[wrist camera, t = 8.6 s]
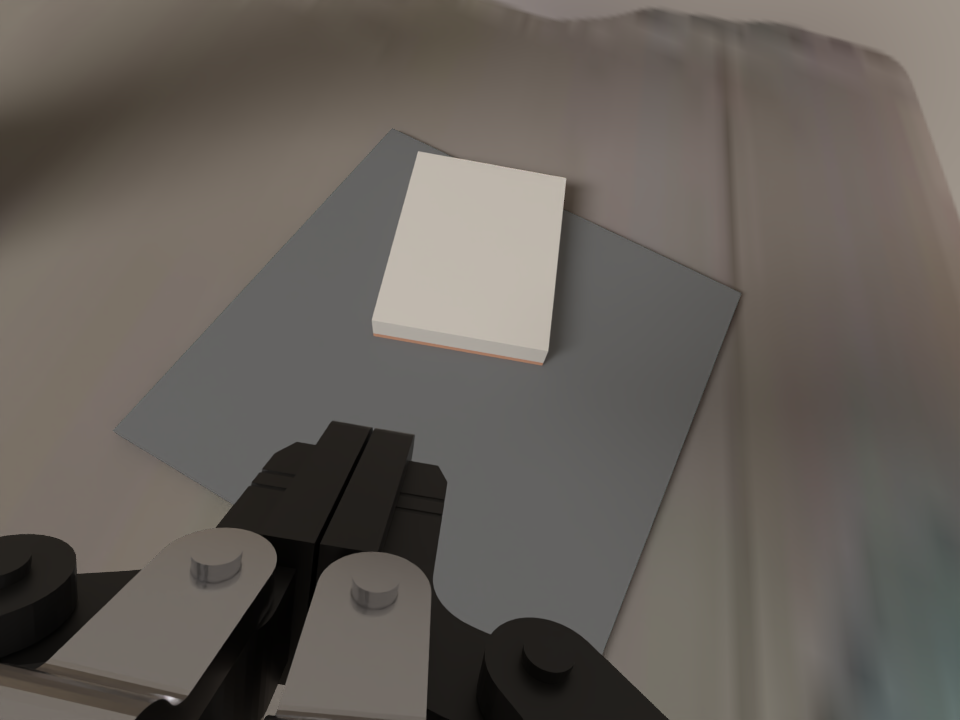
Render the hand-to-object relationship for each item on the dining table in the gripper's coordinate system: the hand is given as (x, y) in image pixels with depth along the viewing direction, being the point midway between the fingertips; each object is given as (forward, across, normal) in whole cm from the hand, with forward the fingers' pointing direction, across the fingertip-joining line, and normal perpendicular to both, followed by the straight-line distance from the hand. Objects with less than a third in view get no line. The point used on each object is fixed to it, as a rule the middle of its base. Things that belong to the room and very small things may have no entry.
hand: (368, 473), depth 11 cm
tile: (+19, -1, +3) cm, 20 cm away
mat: (+20, -1, +4) cm, 21 cm away
